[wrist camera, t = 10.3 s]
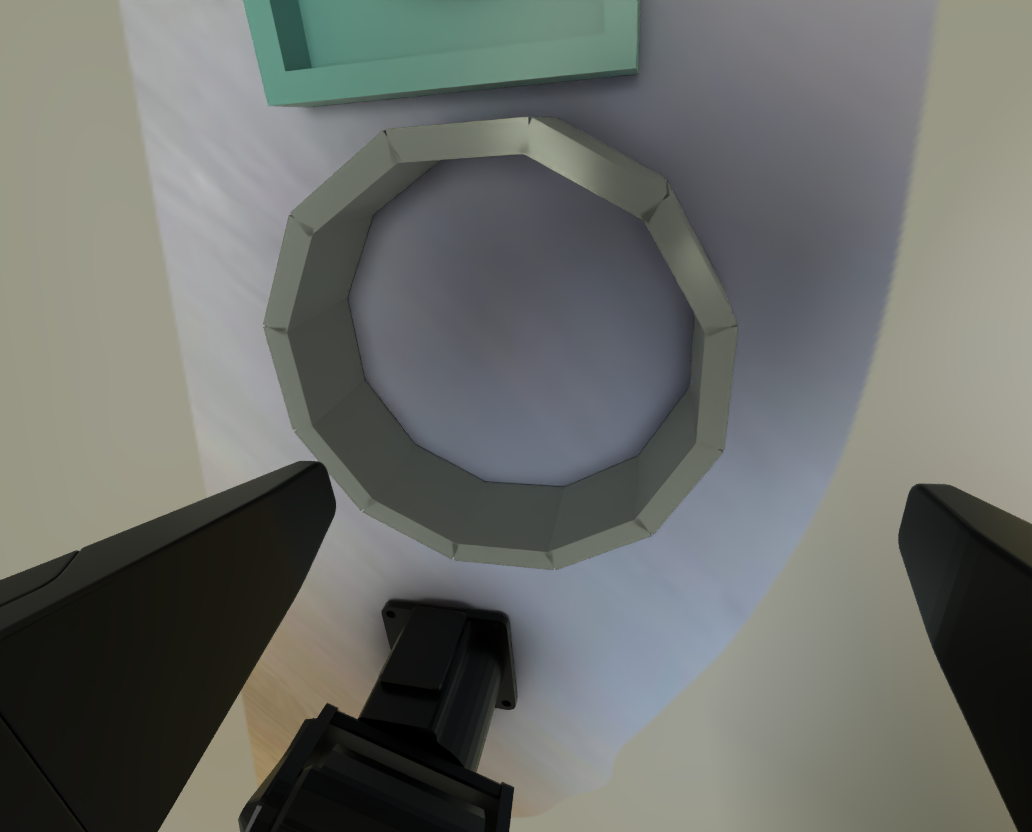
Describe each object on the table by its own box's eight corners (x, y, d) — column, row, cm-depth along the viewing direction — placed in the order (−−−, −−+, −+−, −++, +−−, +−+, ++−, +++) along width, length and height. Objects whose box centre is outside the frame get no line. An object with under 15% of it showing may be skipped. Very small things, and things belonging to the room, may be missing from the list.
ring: (701, 512, 22) (709, 585, 19) (372, 489, 25) (326, 547, 22) (740, 101, 16) (763, 95, 12) (292, 139, 19) (210, 144, 15)
